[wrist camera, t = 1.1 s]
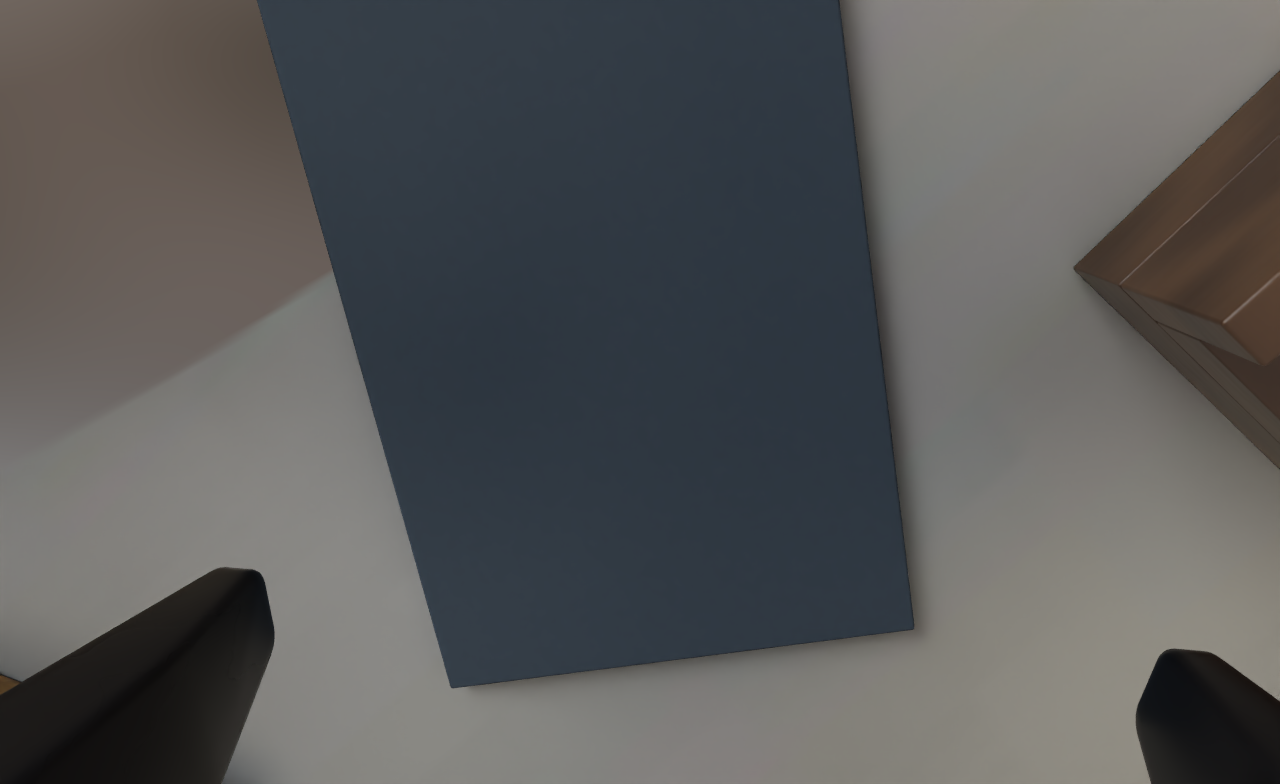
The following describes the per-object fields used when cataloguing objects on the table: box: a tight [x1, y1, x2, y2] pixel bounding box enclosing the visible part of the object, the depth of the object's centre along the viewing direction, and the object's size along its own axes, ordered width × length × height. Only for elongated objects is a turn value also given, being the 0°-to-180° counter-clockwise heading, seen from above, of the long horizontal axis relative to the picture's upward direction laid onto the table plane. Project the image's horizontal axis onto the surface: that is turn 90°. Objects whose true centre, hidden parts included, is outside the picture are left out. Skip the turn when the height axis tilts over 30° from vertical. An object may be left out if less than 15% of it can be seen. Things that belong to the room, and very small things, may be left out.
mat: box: [257, 0, 914, 688], centre depth 22 cm, size 20×13×1 cm, turn 11°
